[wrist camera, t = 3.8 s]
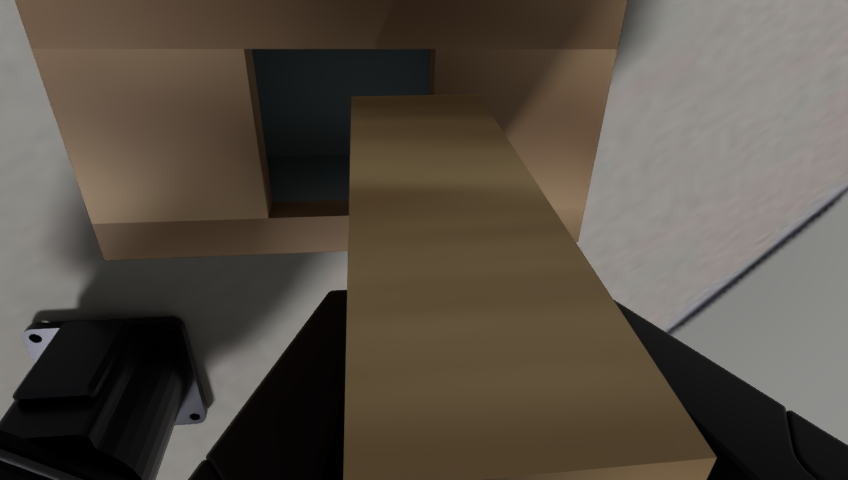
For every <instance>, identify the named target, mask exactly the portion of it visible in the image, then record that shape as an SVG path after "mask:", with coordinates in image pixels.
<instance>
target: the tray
mask: <svg viewBox="0 0 848 480" xmlns="http://www.w3.org/2000/svg"><path fill="white" fill-rule="evenodd" d="M252 55H253V62H254V69H255V76H256V84H257V91H258V98H259V105H260V113H261V120H262V127H263V134H264V142H265V149H266V156H267V163H268V171H269V178H270V185H271V192H272V200H273V202H288V201H322V200H349V185H350V138H351V97H353V96H399V95H429V82H430V49H252Z"/></svg>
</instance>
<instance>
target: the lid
mask: <svg viewBox="0 0 848 480" xmlns="http://www.w3.org/2000/svg"><path fill="white" fill-rule="evenodd" d="M15 2H16V5H17V8H18V11H19V14H20V17H21V20H22V23H23V26H24V28H25V31H26V34H27V37H28V40H29V43H30V46H31V49H32V52H33V55H34V58H35V60H36V63H37V66H38V69H39V72H40V75H41V78H42V81H43V84H44V87H45V89H46V92H47V95H48V98H49V101H50V104H51V107H52V110H53V113H54V116H55V119H56V121H57V124H58V127H59V130H60V133H61V136H62V139H63V142H64V145H65V148H66V150H67V153H68V156H69V159H70V162H71V165H72V168H73V171H74V174H75V177H76V180H77V182H78V185H79V188H80V191H81V194H82V197H83V200H84V203H85V206H86V209H87V211H88V214H89V217H90V220H91V223H92V226H93V229H94V232H95V235H96V238H97V241H98V243H99V246H100V249H101V252H102V255H103V258H104V261H106V260H131V259H157V258H182V257H208V256H233V255H259V254H284V253H310V252H335V251H348V232H349V200H322V201H288V202H273V200H272V192H271V185H270V178H269V171H268V163H267V156H266V149H265V142H264V134H263V127H262V120H261V113H260V105H259V98H258V91H257V84H256V76H255V69H254V62H253V55H252V49H430V82H429V95H445V94H479V96H480V97H481V99H482V100H483V102H484V104H485V105H486V107H487V108H488V110H489V111H490V113H491V114H492V116H493V117H494V119H495V120H496V122H497V123H498V125H499V126H500V128H501V129H502V131H503V132H504V134H505V136H506V137H507V139H508V140H509V142H510V143H511V145H512V146H513V148H514V149H515V151H516V152H517V154H518V155H519V157H520V158H521V160H522V161H523V163H524V164H525V166H526V168H527V169H528V171H529V172H530V174H531V175H532V177H533V178H534V180H535V181H536V183H537V184H538V186H539V187H540V189H541V190H542V192H543V193H544V195H545V196H546V198H547V200H548V201H549V203H550V204H551V206H552V207H553V209H554V210H555V212H556V213H557V215H558V216H559V218H560V219H561V221H562V222H563V224H564V225H565V227H566V228H567V230H568V232H569V233H570V235H571V236H572V238H573V239H574V241H575V242H578V239H579V234H580V229H581V225H582V220H583V215H584V210H585V205H586V200H587V195H588V190H589V186H590V181H591V176H592V171H593V166H594V161H595V156H596V152H597V147H598V142H599V137H600V132H601V127H602V122H603V117H604V113H605V108H606V103H607V98H608V93H609V88H610V83H611V78H612V74H613V69H614V64H615V59H616V54H617V49H618V44H619V39H620V35H621V30H622V25H623V20H624V15H625V10H626V5H627V0H15Z"/></svg>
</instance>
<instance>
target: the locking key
mask: <svg viewBox="0 0 848 480" xmlns="http://www.w3.org/2000/svg"><path fill="white" fill-rule="evenodd" d="M716 459H717V457H716V456H715V454H714V453H713V451H712V449H711V448H710V446H709V445H708V443H707V442H706V440H705V439H704V437H703V436H702V434H701V433H700V431H699V430H698V428H697V427H696V425H695V424H694V422H693V421H692V419H691V417H690V416H689V414H688V413H687V411H686V410H685V408H684V407H683V405H682V404H681V402H680V401H679V399H678V398H677V396H676V395H675V393H674V392H673V390H672V389H671V387H670V385H669V384H668V382H667V381H666V379H665V378H664V376H663V375H662V373H661V372H660V370H659V369H658V367H657V366H656V364H655V363H654V361H653V360H652V358H651V357H650V355H649V353H648V352H647V350H646V349H645V347H644V346H643V344H642V343H641V341H640V340H639V338H638V337H637V335H636V334H635V332H634V331H633V329H632V328H631V326H630V324H629V323H628V321H627V320H626V318H625V317H624V315H623V314H622V312H621V311H620V309H619V308H618V306H617V305H616V303H615V302H614V300H613V299H612V297H611V296H610V294H609V292H608V291H607V289H606V288H605V286H604V285H603V283H602V282H601V280H600V279H599V277H598V276H597V274H596V273H595V271H594V270H593V268H592V267H591V265H590V264H589V262H588V260H587V259H586V257H585V256H584V254H583V253H582V251H581V250H580V248H579V247H578V245H577V244H576V242H575V241H574V239H573V238H572V236H571V235H570V233H569V232H568V230H567V228H566V227H565V225H564V224H563V222H562V221H561V219H560V218H559V216H558V215H557V213H556V212H555V210H554V209H553V207H552V206H551V204H550V203H549V201H548V200H547V198H546V196H545V195H544V193H543V192H542V190H541V189H540V187H539V186H538V184H537V183H536V181H535V180H534V178H533V177H532V175H531V174H530V172H529V171H528V169H527V168H526V166H525V164H524V163H523V161H522V160H521V158H520V157H519V155H518V154H517V152H516V151H515V149H514V148H513V146H512V145H511V143H510V142H509V140H508V139H507V137H506V136H505V134H504V132H503V131H502V129H501V128H500V126H499V125H498V123H497V122H496V120H495V119H494V117H493V116H492V114H491V113H490V111H489V110H488V108H487V107H486V105H485V104H484V102H483V100H482V99H481V97H480V96H479V94H445V95H399V96H353V97H351V138H350V185H349V232H348V279H347V326H346V374H345V421H344V468H343V480H707V478H708V476H709V473H710V471H711V469H712V467H713V465H714V463H715V461H716Z"/></svg>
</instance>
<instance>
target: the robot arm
mask: <svg viewBox="0 0 848 480" xmlns="http://www.w3.org/2000/svg"><path fill="white" fill-rule="evenodd" d="M614 302H615V303H616V305H617V306H618V308H619V309H620V311H621V312H622V314H623V315H624V317H625V318H626V320H627V321H628V323H629V324H630V326H631V328H632V329H633V331H634V332H635V334H636V335H637V337H638V338H639V340H640V341H641V343H642V344H643V346H644V347H645V349H646V350H647V352H648V353H649V355H650V357H651V358H652V360H653V361H654V363H655V364H656V366H657V367H658V369H659V370H660V372H661V373H662V375H663V376H664V378H665V379H666V381H667V382H668V384H669V385H670V387H671V389H672V390H673V392H674V393H675V395H676V396H677V398H678V399H679V401H680V402H681V404H682V405H683V407H684V408H685V410H686V411H687V413H688V414H689V416H690V417H691V419H692V421H693V422H694V424H695V425H696V427H697V428H698V430H699V431H700V433H701V434H702V436H703V437H704V439H705V440H706V442H707V443H708V445H709V446H710V448H711V449H712V451H713V453H714V454H715V456H716V457H717V459H716V461H715V463H714V465H713V467H712V469H711V471H710V473H709V476H708V478H707V480H848V445H847V444H845V443H843V442H842V441H840V440H838V439H837V438H835V437H833V436H832V435H830V434H828V433H827V432H825V431H823V430H822V429H820V428H818V427H817V426H815V425H814V424H812V423H810V422H809V421H807V420H806V419H804V418H803V417H801V416H799V415H798V414H796V413H795V412H793V411H790V410H789V411H787V412H786V409H785V407H784V406H783V405H781V404H780V403H778V402H777V401H775V400H773V399H772V398H770V397H769V396H767V395H765V394H764V393H762V392H760V391H759V390H757V389H756V388H754V387H753V386H751V385H749V384H748V383H746V382H745V381H743V380H741V379H739V378H738V377H736V376H735V375H733V374H731V373H730V372H728V371H727V370H725V369H724V368H722V367H721V366H719V365H717V364H716V363H714V362H712V361H711V360H709V359H708V358H706V357H705V356H703V355H701V354H700V353H698V352H697V351H695V350H693V349H692V348H690V347H689V346H687V345H685V344H684V343H682V342H681V341H679V340H677V339H676V338H674V337H673V336H671V335H669V334H668V333H666V332H665V331H663V330H661V329H660V328H658V327H657V326H655V325H653V324H652V323H650V322H649V321H647V320H645V319H644V318H642V317H641V316H639V315H637V314H636V313H634V312H633V311H631V310H629V309H628V308H626V307H625V306H623V305H621V304H620V303H618V302H617V301H615V300H614ZM346 326H347V290H336V291H330V292H329V293H328V294H327V295H326V297H325V298H324V299H323V301H322V302H321V303H320V305H319V306H318V307H317V309H316V310H315V311H314V313H313V314H312V315H311V317H310V318H309V319H308V321H307V322H306V323H305V325H304V326H303V327H302V329H301V330H300V331H299V333H298V334H297V335H296V337H295V338H294V339H293V341H292V342H291V343H290V345H289V346H288V347H287V349H286V350H285V351H284V353H283V354H282V355H281V357H280V358H279V359H278V361H277V362H276V363H275V365H274V366H273V367H272V369H271V370H270V371H269V373H268V374H267V375H266V377H265V378H264V379H263V381H262V382H261V383H260V385H259V386H258V387H257V389H256V390H255V391H254V393H253V394H252V395H251V397H250V398H249V399H248V401H247V402H246V403H245V405H244V406H243V407H242V409H241V410H240V411H239V413H238V414H237V415H236V417H235V418H234V419H233V421H232V422H231V423H230V425H229V426H228V427H227V429H226V430H225V431H224V433H223V434H222V435H221V437H220V438H219V439H218V441H217V442H216V443H215V445H214V446H213V447H212V449H211V450H210V451H209V453H208V454H207V456H206V460H203V461H202V462H201V463H200V464H199V465H198V467H197V468H196V469H195V471H194V472H193V474H192V475H191V476H190V478H189V479H188V480H343V468H344V421H345V374H346ZM168 327H173V328H174V329H175V330H172V329H169V328H168ZM35 334H37V335H39V336H37V335H35ZM40 336H41V337H40ZM22 337H23V340H24V342H25V345H26V347H27V349H28V351H29V353H30V355H31V357H32V359H33V361H34V363H35V364H34V365H33V367H32V368H31V370H30V371H29V372H28V374H27V375H26V377H25V378H24V380H23V381H22V382H21V384H20V385H19V387H18V388H17V389H16V391H15V392H14V394H13V399H14V402H13V403H12V405H11V406H10V408H9V409H8V411H7V412H6V414H5V415H4V416H3V418H2V419H1V421H0V480H155V479H156V476H157V474H158V471H159V468H160V465H161V462H162V459H163V456H164V453H165V451H166V448H167V445H168V442H169V439H170V436H171V433H172V430H173V427H174V425H185V424H198V423H201V422H203V421H204V420H205V419H206V415H207V406H206V402H205V399H204V395H203V391H202V388H201V384H200V380H199V377H198V373H197V369H196V366H195V362H194V358H193V354H192V351H191V347H190V343H189V340H188V336H187V332H186V329H185V325H184V323H183V321H181V320H180V319H179V318H176V317H152V318H132V319H112V320H92V321H72V322H53V323H35V324H31V325H30V326H28V328H27V329H26V330H25V331H24V333H23V335H22ZM195 413H197V414H195Z"/></svg>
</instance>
